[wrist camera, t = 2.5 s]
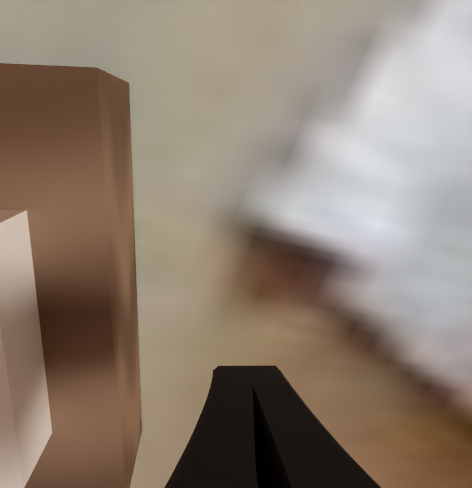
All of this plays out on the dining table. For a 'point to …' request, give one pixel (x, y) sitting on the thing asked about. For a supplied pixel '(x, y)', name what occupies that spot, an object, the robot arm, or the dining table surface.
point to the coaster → (20, 357)
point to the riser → (78, 262)
